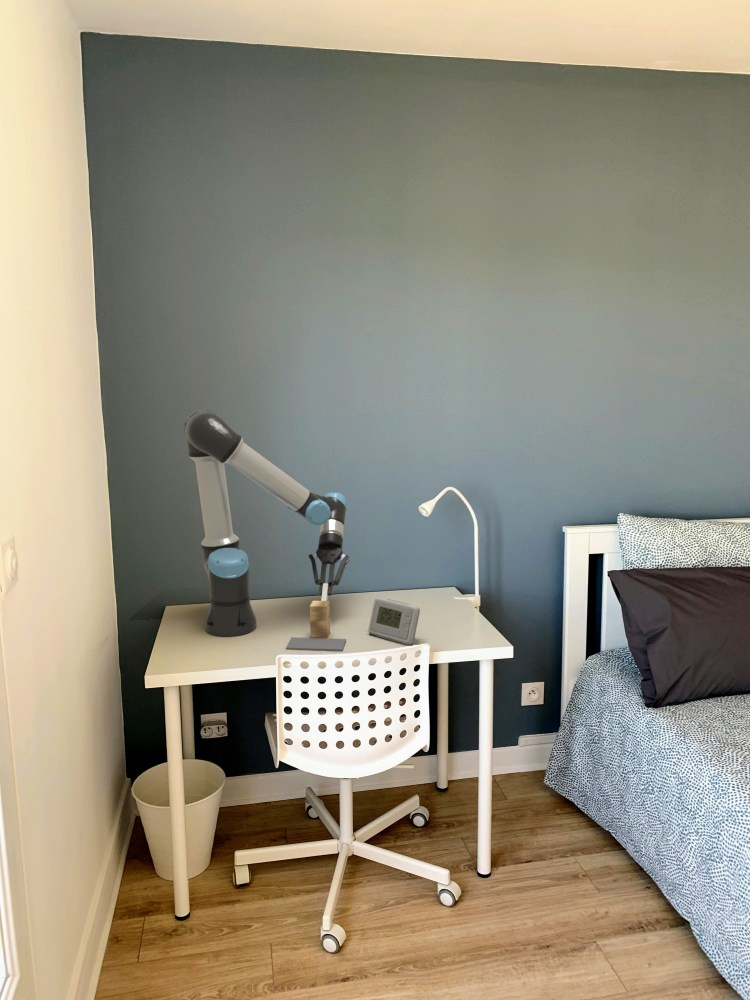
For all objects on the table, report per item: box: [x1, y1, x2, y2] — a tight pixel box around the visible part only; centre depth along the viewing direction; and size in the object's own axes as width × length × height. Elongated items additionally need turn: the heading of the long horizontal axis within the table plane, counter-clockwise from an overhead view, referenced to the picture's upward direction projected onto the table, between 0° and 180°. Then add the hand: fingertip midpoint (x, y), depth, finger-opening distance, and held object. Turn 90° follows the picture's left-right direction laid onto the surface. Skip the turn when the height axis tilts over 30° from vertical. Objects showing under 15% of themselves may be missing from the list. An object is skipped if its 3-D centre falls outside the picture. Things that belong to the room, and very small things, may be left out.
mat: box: [285, 637, 347, 652], centre depth 220 cm, size 16×8×1 cm, turn 85°
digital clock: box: [367, 596, 421, 645], centre depth 224 cm, size 16×9×11 cm, turn 41°
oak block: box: [309, 600, 331, 638], centre depth 225 cm, size 5×5×10 cm
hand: (324, 604), depth 232 cm, fingers closed
